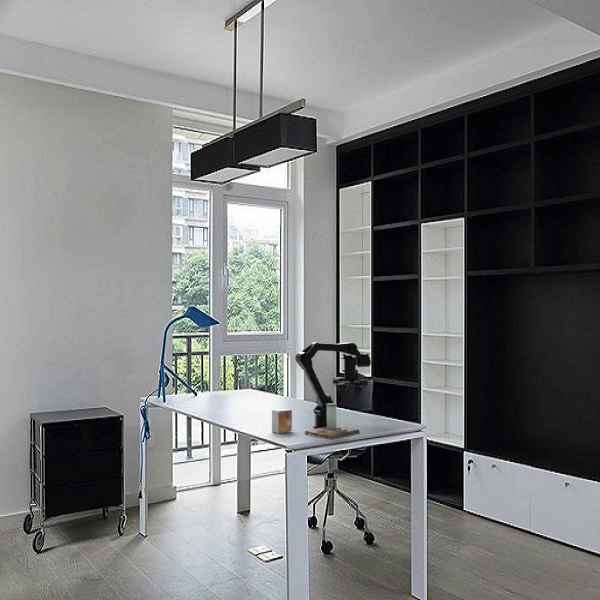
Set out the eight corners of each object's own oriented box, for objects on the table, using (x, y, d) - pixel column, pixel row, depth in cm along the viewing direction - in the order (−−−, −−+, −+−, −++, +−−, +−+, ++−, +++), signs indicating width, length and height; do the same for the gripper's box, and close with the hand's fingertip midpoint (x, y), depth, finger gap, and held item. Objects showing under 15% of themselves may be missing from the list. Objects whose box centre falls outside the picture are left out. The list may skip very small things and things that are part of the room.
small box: (278, 434, 315) (278, 411, 315) (271, 432, 320) (271, 409, 320) (292, 432, 320) (292, 409, 320) (285, 430, 324) (285, 408, 324)
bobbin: (323, 432, 311) (323, 405, 311) (325, 429, 317) (325, 403, 317) (337, 432, 309) (337, 405, 309) (339, 430, 316) (339, 403, 316)
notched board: (305, 434, 314) (304, 428, 314) (334, 428, 328) (334, 423, 328) (329, 439, 303) (329, 433, 303) (359, 432, 317) (359, 427, 317)
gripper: (374, 367, 334) (375, 399, 334) (346, 365, 348) (347, 395, 348) (360, 369, 327) (360, 401, 327) (332, 367, 340) (332, 398, 340)
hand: (350, 399), depth 335 cm, fingers open, 9 cm apart
